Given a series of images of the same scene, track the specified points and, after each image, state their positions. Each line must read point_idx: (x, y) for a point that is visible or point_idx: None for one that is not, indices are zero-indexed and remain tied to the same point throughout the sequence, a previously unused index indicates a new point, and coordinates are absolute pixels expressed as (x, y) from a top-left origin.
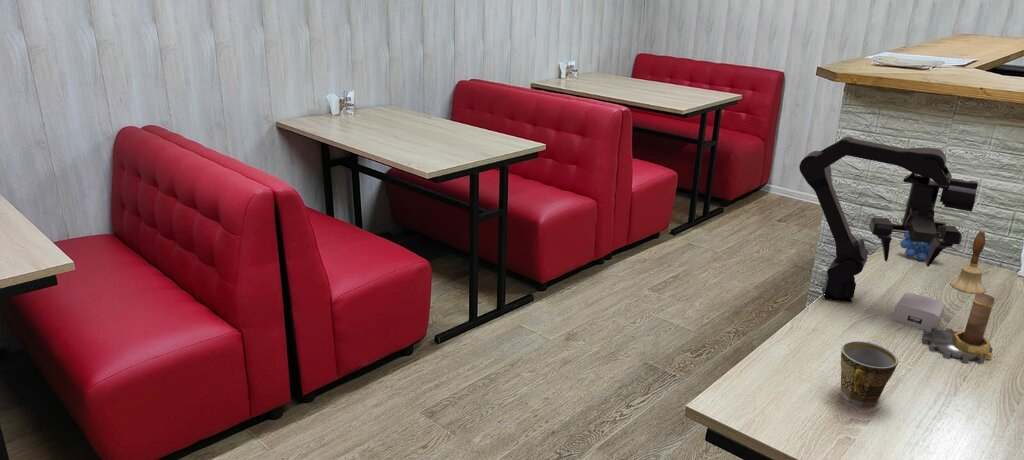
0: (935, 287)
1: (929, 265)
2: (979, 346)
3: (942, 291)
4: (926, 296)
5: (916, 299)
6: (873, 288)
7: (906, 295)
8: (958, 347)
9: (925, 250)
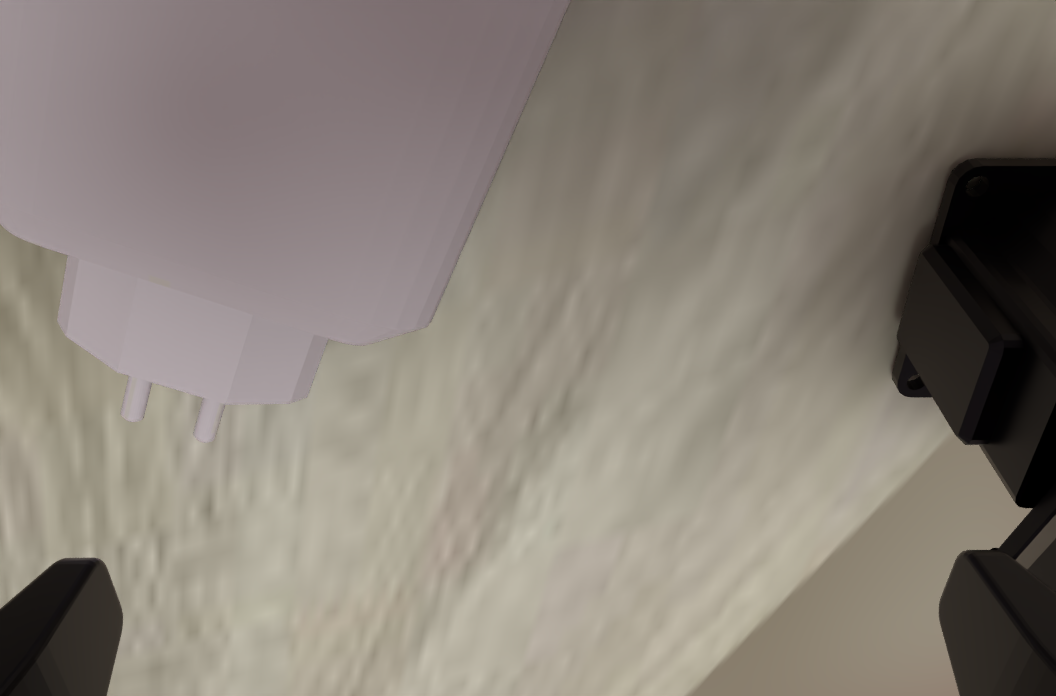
0: None
1: (39, 577)
2: None
3: None
4: (177, 370)
5: (305, 144)
6: (611, 526)
7: (418, 239)
8: None
9: None
